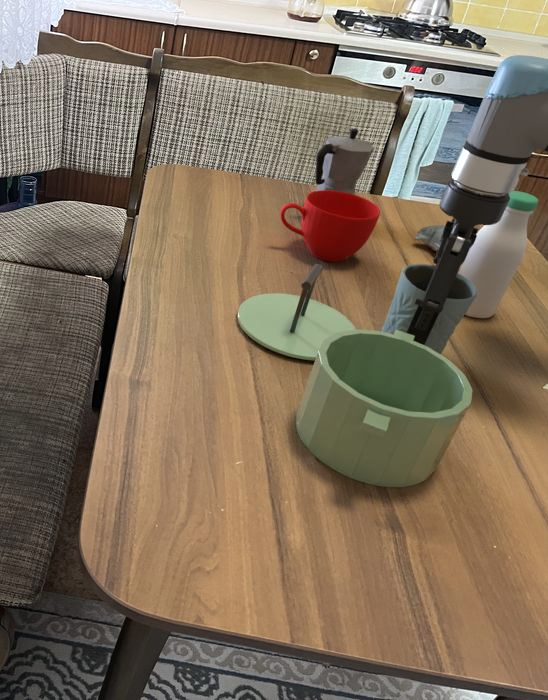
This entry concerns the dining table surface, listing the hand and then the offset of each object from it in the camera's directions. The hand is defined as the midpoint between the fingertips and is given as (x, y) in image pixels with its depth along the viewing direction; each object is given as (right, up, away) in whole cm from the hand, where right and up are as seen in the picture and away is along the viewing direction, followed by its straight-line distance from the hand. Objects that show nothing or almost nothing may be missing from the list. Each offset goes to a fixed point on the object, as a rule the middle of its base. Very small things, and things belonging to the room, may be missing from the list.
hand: (418, 324), depth 100 cm
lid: (-16, 0, +4) cm, 17 cm away
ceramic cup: (-5, +14, +28) cm, 32 cm away
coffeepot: (+2, +25, +44) cm, 51 cm away
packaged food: (+23, +15, +34) cm, 43 cm away
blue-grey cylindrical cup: (0, -4, +3) cm, 5 cm away
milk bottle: (+16, +3, +16) cm, 23 cm away
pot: (-14, -15, -15) cm, 25 cm away
